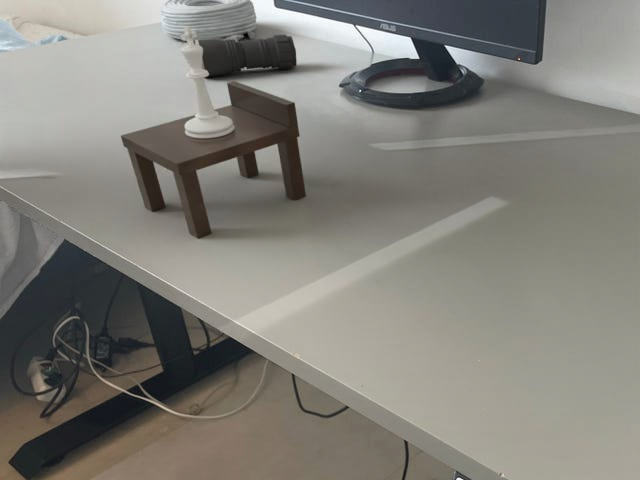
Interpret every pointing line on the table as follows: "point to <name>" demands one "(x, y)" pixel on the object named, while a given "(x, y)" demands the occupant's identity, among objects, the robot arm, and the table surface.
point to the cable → (209, 18)
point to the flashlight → (247, 54)
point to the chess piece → (202, 96)
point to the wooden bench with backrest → (217, 151)
